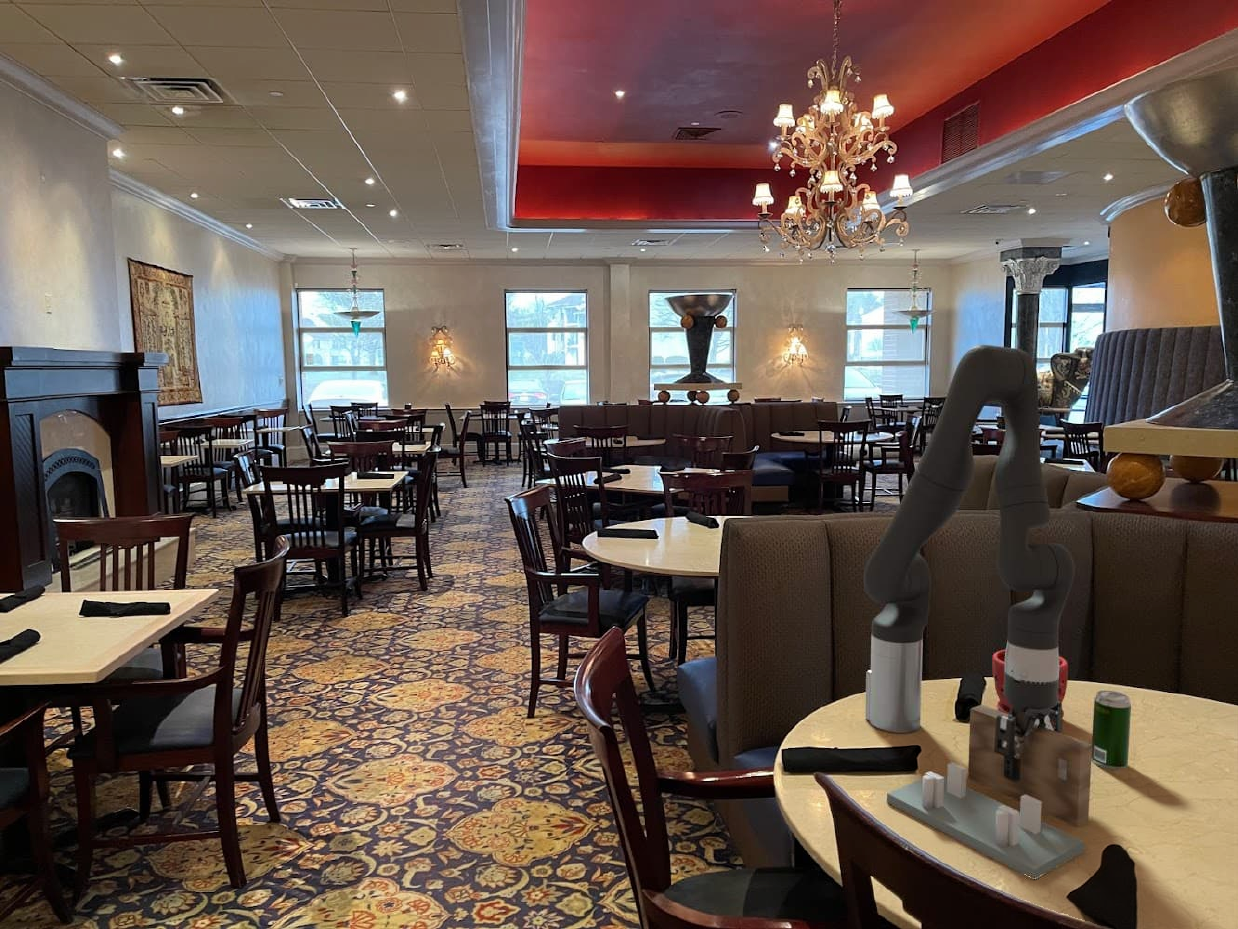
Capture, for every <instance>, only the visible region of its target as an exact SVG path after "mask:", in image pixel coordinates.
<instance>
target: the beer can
mask: <svg viewBox="0 0 1238 929" xmlns="http://www.w3.org/2000/svg"><path fill="white" fill-rule="evenodd" d="M1095 694H1096V695H1095V696H1094V700H1093V702H1094V704H1093V720H1092V722H1093V724H1092V738H1091V739H1092V741H1091V744H1092V758H1091V761H1093V763H1094V765H1096V766H1098V767H1099V768H1102V769H1106V770H1110V771H1122V770H1125V769H1126V768H1127V766H1128V764H1129V750H1130V732H1131V731H1130V730H1131V717H1132V716H1131V713H1132V703H1131V698H1130V696H1128V695H1127V694H1125V693H1122V692H1120V691H1119V692H1118V691H1114V690H1098V691H1096V693H1095Z"/></svg>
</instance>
